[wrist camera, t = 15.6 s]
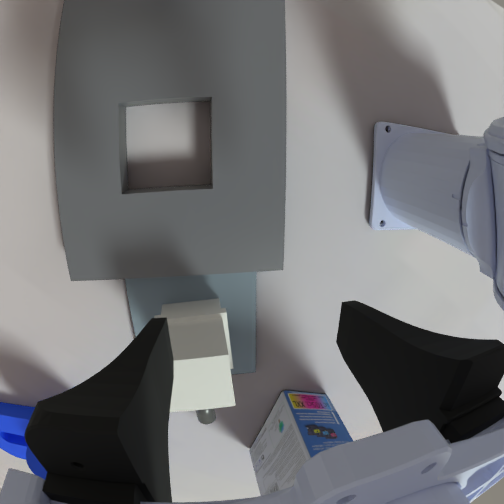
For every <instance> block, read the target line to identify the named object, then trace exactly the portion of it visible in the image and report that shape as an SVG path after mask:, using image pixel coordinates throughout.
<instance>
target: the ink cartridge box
mask: <svg viewBox="0 0 504 504" xmlns="http://www.w3.org/2000/svg"><path fill="white" fill-rule="evenodd" d="M352 441H353V440H352V438H351V436H350V435H349V433H348V431H347V429H346V427H345V426H344V424H343V422H342V420H341V418H340V417H339V415H338V413H337V412H336V410H335V408H334V406H333V404H332V403H331V401H330V399H329V398H328V396H327V395H326V394H317V393H306V392H296V391H288V390H285V391H283V392H281V394H280V396H279V398H278V400H277V402H276V404H275V405H274V407H273V409H272V411H271V413H270V415H269V417H268V418H267V420H266V422H265V424H264V426H263V427H262V429H261V431H260V433H259V434H258V436H257V438H256V440H255V441H254V443H253V445H252V447H251V448H250V455H251V459H252V463H253V467H254V471H255V475H256V479H257V483H258V486H259V490H260V494H261V496H263V495H266V494H270V493H273V492H276V491H280V490H283V489H286V488H289V487H292V486H293V485H294V481H295V476H296V474H297V473H298V471H299V470H300V468H301V467H302V465H303V464H304V463H305V462H306V461H307V460H309V459H310V458H312V457H313V456H315V455H316V454H318V453H319V452H321V451H324V450H327V449H330V448H332V447H335V446H337V445H341V444H345V443H349V442H352Z"/></svg>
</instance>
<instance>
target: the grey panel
mask: <svg viewBox="0 0 504 504" xmlns="http://www.w3.org/2000/svg"><path fill="white" fill-rule="evenodd" d="M201 101H211V185H192V186H174V187H158V188H144V189H131V190H129V188H128V172H127V148H126V107H130V106H140V105H151V104H163V103H178V102H201ZM53 122H54V158H55V174H56V186H57V196H58V206H59V214H60V221H61V228H62V235H63V241H64V247H65V253H66V259H67V264H68V269H69V274H70V279H71V281H86V280H110V279H133V278H154V277H173V276H192V275H210V274H227V273H243V272H259V271H274V270H283V262H284V231H285V190H286V35H285V0H64V5H63V11H62V17H61V23H60V30H59V38H58V46H57V56H56V68H55V83H54V118H53Z"/></svg>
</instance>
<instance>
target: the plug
mask: <svg viewBox="0 0 504 504" xmlns="http://www.w3.org/2000/svg"><path fill="white" fill-rule="evenodd" d="M165 317H167V322H168V328H169V335H170V341H171V347H172V352H173V358H174V380H173V388H172V396H171V404H170V412H181V411H193V410H196V413H197V417H198V420H199V422H200V423H202V424H210V423H212V422H214V421H215V419H216V416H215V411H214V408H222V407H230V406H236V405H235V398H234V391H233V384H232V377H231V369H233V362H232V354H231V346H230V338H229V329H228V321H227V312H226V308H221V306H220V300H219V298H217V299H208V300H199V301H190V302H181V303H172V304H163V305H162V310H161V315H155V316H154V318H165Z"/></svg>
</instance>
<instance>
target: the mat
mask: <svg viewBox="0 0 504 504" xmlns="http://www.w3.org/2000/svg"><path fill="white" fill-rule="evenodd" d="M125 283H126V289H127V295H128V300H129V306H130V311H131V316H132V321H133V326H134V331H135V336H137V335H138V334H139V333H140V332H141V330H142V329H143V328H144V327H145V325H146V324H147V323H148V322H149V321H150V320H151V318H154V316H155V315H161V310H162V305H163V304H172V303H181V302H190V301H199V300H208V299H217V298H219V300H220V306H221V308H226V312H227V321H228V329H229V338H230V346H231V354H232V362H233V369H231V375H232V374H243V373H253V372H256V272H243V273H227V274H210V275H192V276H173V277H154V278H133V279H125Z"/></svg>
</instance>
